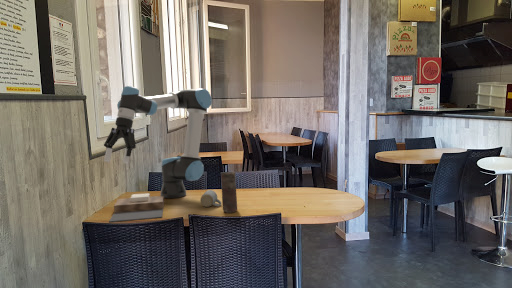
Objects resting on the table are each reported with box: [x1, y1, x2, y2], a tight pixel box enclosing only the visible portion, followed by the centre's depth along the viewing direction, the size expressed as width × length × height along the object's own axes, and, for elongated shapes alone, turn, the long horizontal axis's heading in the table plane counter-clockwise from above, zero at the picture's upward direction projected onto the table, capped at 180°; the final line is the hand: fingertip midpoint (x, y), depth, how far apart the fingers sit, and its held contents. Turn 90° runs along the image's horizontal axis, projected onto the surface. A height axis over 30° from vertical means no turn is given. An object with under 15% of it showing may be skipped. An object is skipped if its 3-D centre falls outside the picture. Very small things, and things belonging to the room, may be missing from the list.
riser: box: [113, 195, 165, 214], centre depth 192 cm, size 24×14×4 cm, turn 102°
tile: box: [129, 193, 151, 202], centre depth 194 cm, size 9×8×2 cm
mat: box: [108, 208, 164, 223], centre depth 178 cm, size 24×14×1 cm, turn 102°
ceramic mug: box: [200, 189, 222, 208], centre depth 193 cm, size 11×8×8 cm
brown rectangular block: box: [220, 171, 238, 214], centre depth 181 cm, size 8×7×20 cm
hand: (115, 162), depth 168 cm, fingers open, 13 cm apart
